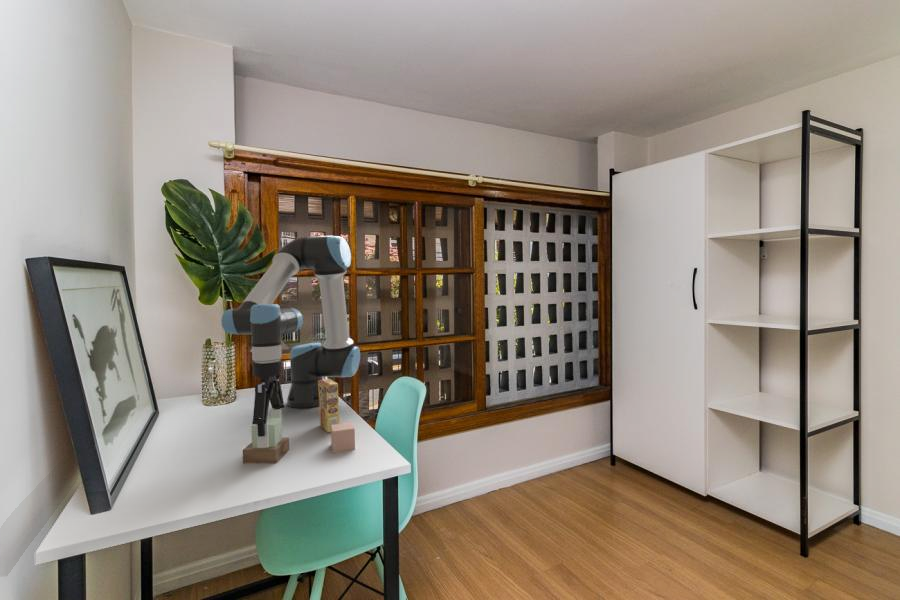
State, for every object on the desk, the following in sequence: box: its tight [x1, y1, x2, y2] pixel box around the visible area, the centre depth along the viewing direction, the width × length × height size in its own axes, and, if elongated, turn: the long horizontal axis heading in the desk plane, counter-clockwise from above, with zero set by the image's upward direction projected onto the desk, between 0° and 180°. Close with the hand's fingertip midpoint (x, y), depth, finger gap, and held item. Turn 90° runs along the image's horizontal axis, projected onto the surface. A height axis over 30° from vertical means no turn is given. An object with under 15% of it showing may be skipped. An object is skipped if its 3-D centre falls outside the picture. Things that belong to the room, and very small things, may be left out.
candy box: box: [318, 378, 340, 433], centre depth 144 cm, size 9×4×15 cm, turn 33°
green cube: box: [251, 417, 283, 448], centre depth 122 cm, size 6×6×6 cm
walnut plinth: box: [242, 436, 290, 464], centre depth 122 cm, size 9×9×4 cm
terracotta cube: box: [330, 421, 356, 453], centre depth 128 cm, size 6×6×6 cm
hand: (270, 439), depth 123 cm, fingers open, 11 cm apart
